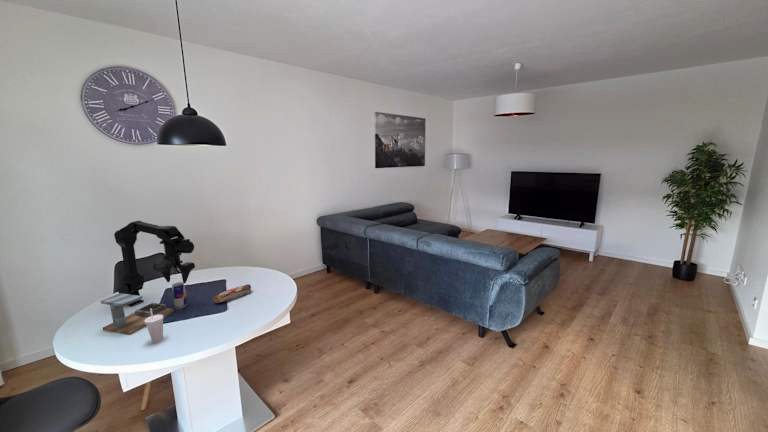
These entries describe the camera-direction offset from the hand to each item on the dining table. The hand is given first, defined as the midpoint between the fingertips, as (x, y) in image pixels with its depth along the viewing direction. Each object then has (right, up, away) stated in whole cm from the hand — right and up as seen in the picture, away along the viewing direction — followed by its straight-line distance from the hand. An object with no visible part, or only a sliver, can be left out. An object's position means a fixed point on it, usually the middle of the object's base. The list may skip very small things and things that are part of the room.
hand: (176, 282), depth 156 cm
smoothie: (+9, -18, -26) cm, 33 cm away
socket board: (-10, -15, -10) cm, 21 cm away
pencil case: (+22, -11, +13) cm, 28 cm away
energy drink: (0, -13, +3) cm, 13 cm away
